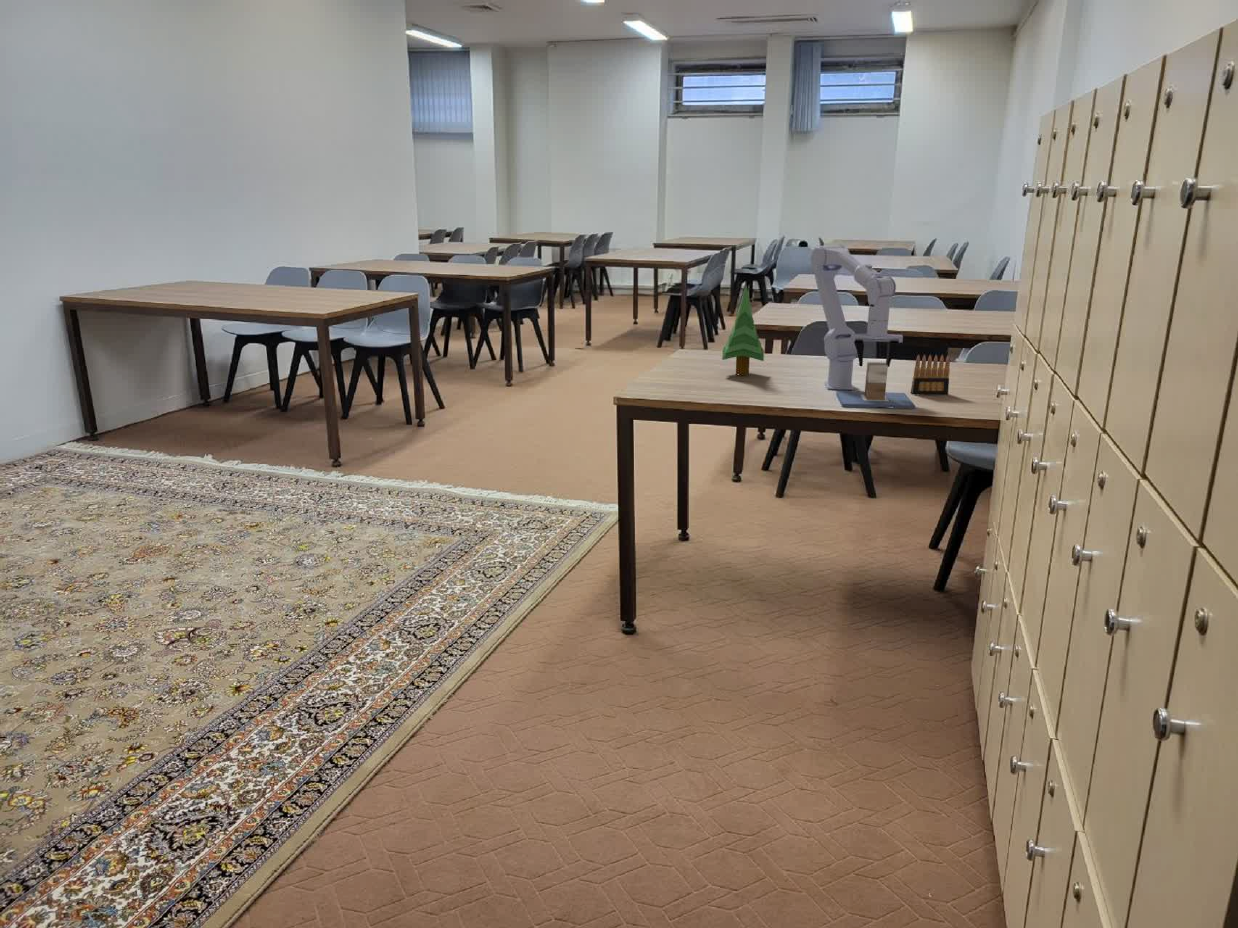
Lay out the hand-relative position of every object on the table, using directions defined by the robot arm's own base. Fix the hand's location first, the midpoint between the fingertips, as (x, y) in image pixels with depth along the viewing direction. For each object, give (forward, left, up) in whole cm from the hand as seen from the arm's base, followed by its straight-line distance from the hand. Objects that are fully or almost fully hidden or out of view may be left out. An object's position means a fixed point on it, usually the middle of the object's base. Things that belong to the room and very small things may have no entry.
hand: (874, 366), depth 259 cm
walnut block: (+6, 0, -8) cm, 10 cm away
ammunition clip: (-6, +18, -10) cm, 21 cm away
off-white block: (+6, 0, -3) cm, 6 cm away
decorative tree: (-28, -38, -10) cm, 48 cm away
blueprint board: (+6, 0, -9) cm, 11 cm away
